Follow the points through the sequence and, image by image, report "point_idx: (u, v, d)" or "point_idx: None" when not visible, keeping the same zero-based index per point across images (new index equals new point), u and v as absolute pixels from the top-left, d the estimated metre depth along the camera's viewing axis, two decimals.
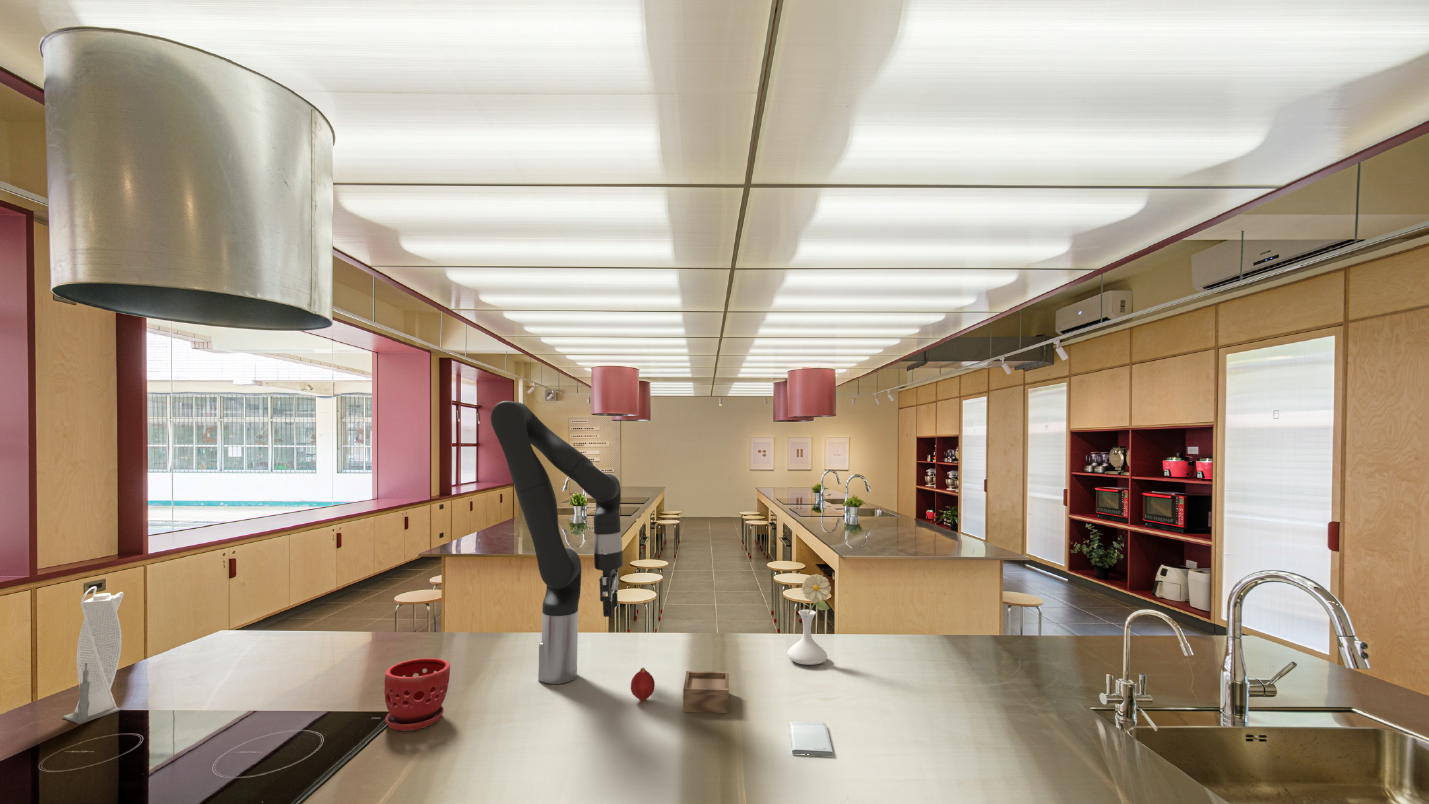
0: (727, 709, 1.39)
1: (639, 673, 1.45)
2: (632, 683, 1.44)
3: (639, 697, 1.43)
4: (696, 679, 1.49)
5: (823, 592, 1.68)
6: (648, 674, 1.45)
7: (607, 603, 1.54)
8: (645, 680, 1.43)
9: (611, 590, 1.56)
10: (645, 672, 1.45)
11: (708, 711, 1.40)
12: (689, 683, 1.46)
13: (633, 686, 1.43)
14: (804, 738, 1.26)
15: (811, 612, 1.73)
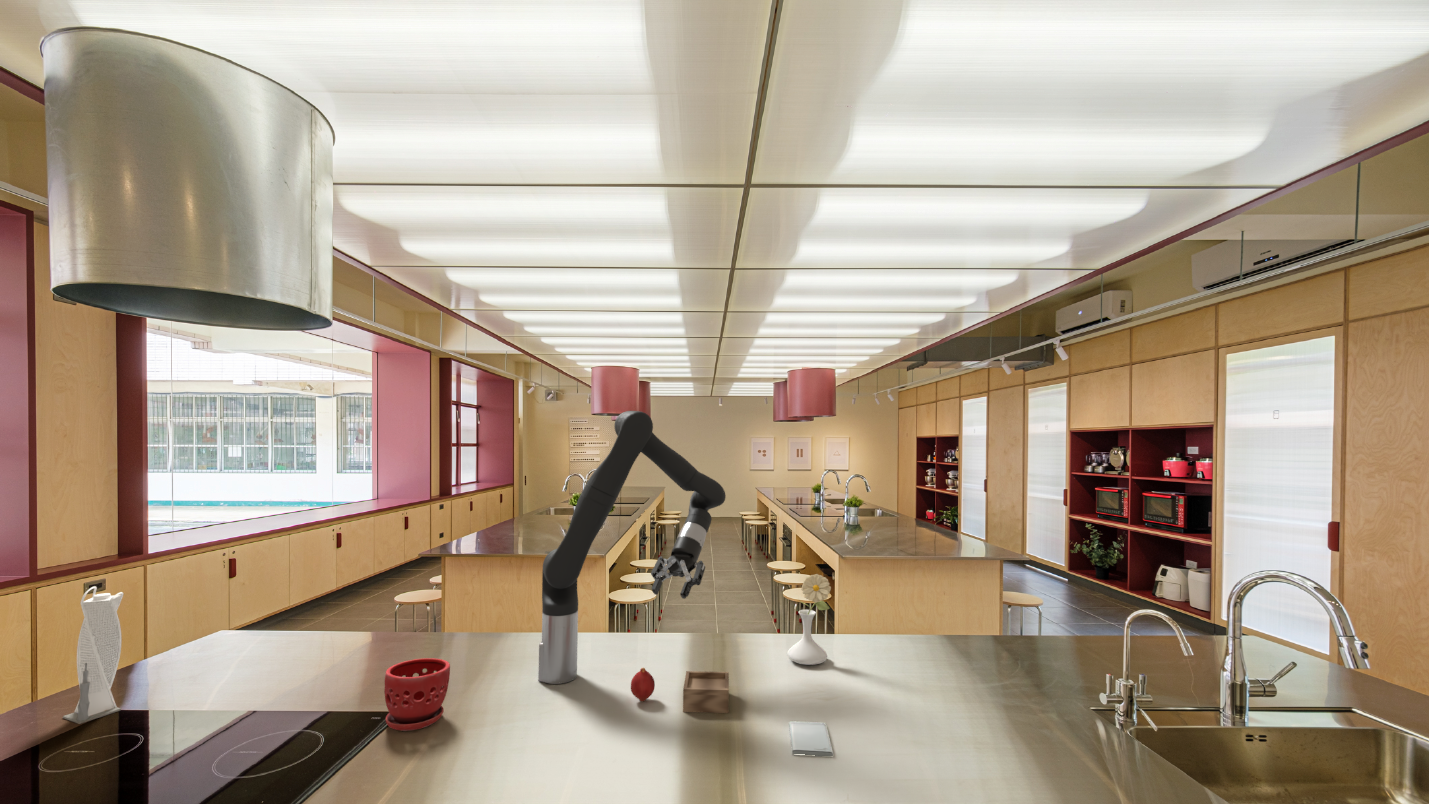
0: (727, 709, 1.39)
1: (639, 673, 1.45)
2: (632, 683, 1.44)
3: (639, 697, 1.43)
4: (696, 679, 1.49)
5: (823, 592, 1.68)
6: (648, 674, 1.45)
7: (690, 585, 1.57)
8: (645, 680, 1.43)
9: (691, 577, 1.60)
10: (645, 672, 1.45)
11: (708, 711, 1.40)
12: (689, 683, 1.46)
13: (633, 686, 1.43)
14: (804, 738, 1.26)
15: (811, 612, 1.73)
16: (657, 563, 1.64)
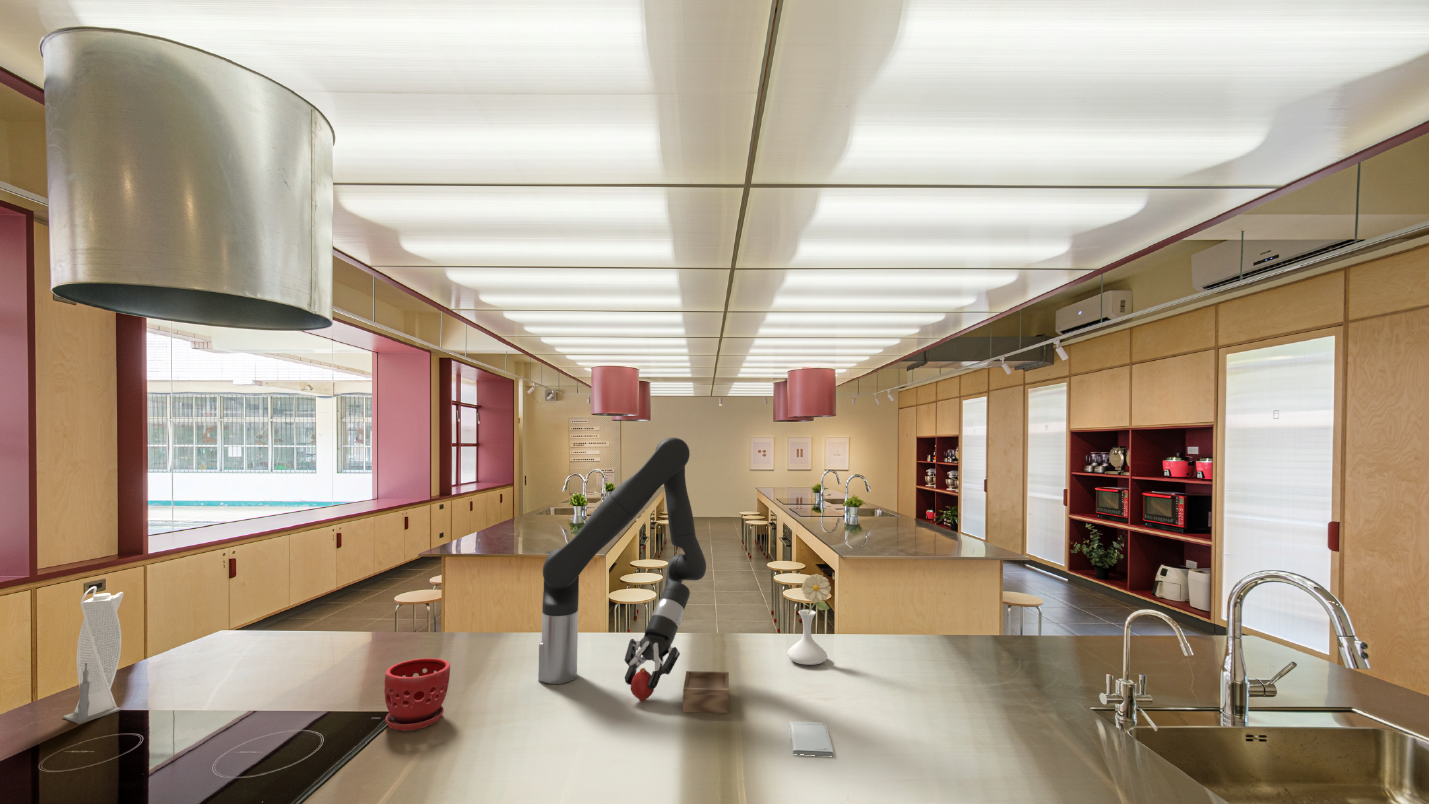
0: (727, 709, 1.39)
1: (639, 673, 1.45)
2: (632, 683, 1.44)
3: (639, 697, 1.43)
4: (696, 679, 1.49)
5: (823, 592, 1.68)
6: (648, 674, 1.45)
7: (659, 675, 1.44)
8: (645, 680, 1.43)
9: (662, 664, 1.47)
10: (645, 672, 1.45)
11: (708, 711, 1.40)
12: (689, 683, 1.46)
13: (633, 686, 1.43)
14: (804, 738, 1.26)
15: (811, 612, 1.73)
16: (629, 647, 1.51)
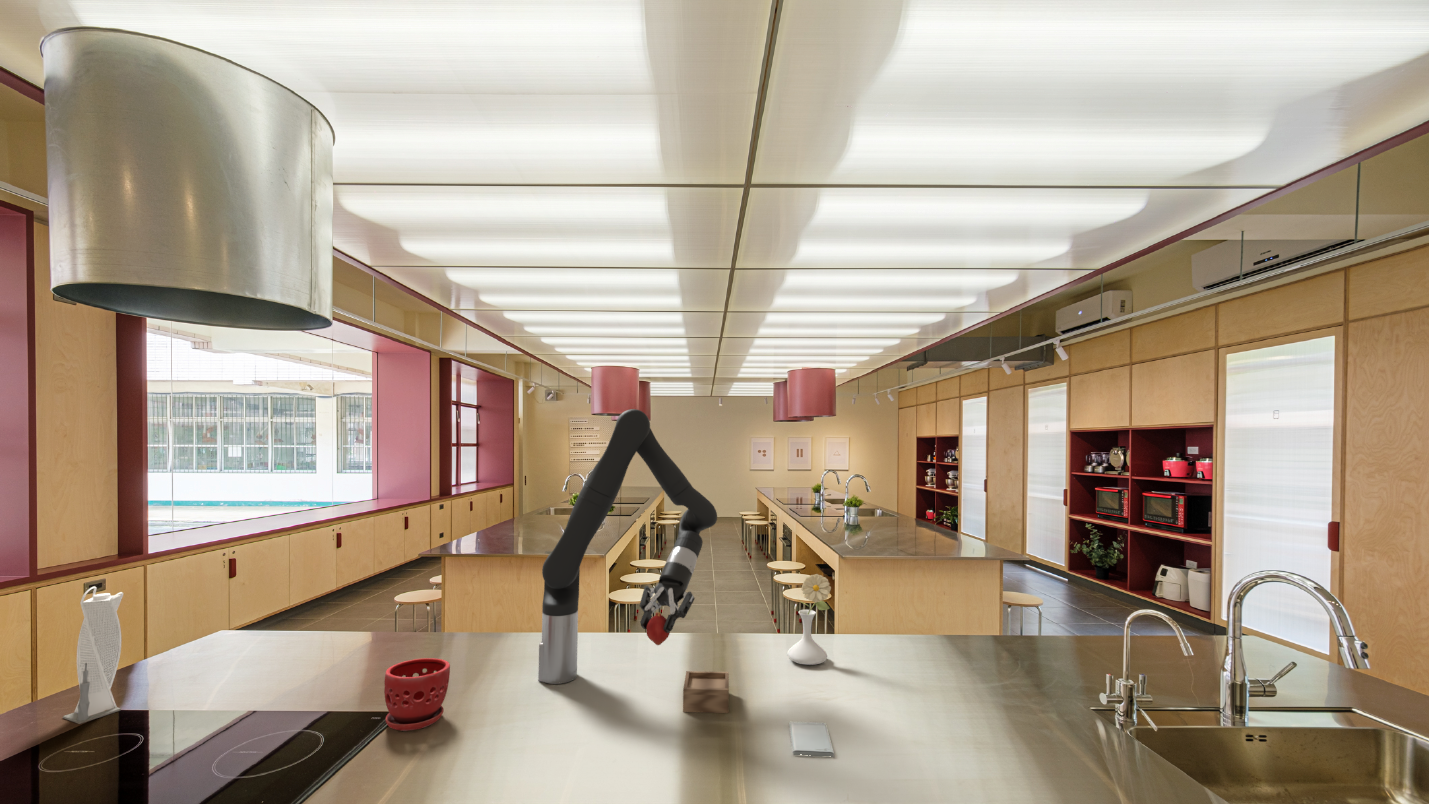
0: (727, 709, 1.39)
1: (654, 617, 1.46)
2: (648, 627, 1.45)
3: (655, 640, 1.44)
4: (696, 679, 1.49)
5: (823, 592, 1.68)
6: (663, 618, 1.46)
7: (675, 618, 1.45)
8: (661, 624, 1.44)
9: (677, 609, 1.48)
10: (660, 616, 1.46)
11: (708, 711, 1.40)
12: (689, 683, 1.46)
13: (649, 629, 1.44)
14: (804, 738, 1.26)
15: (811, 612, 1.73)
16: (644, 594, 1.52)
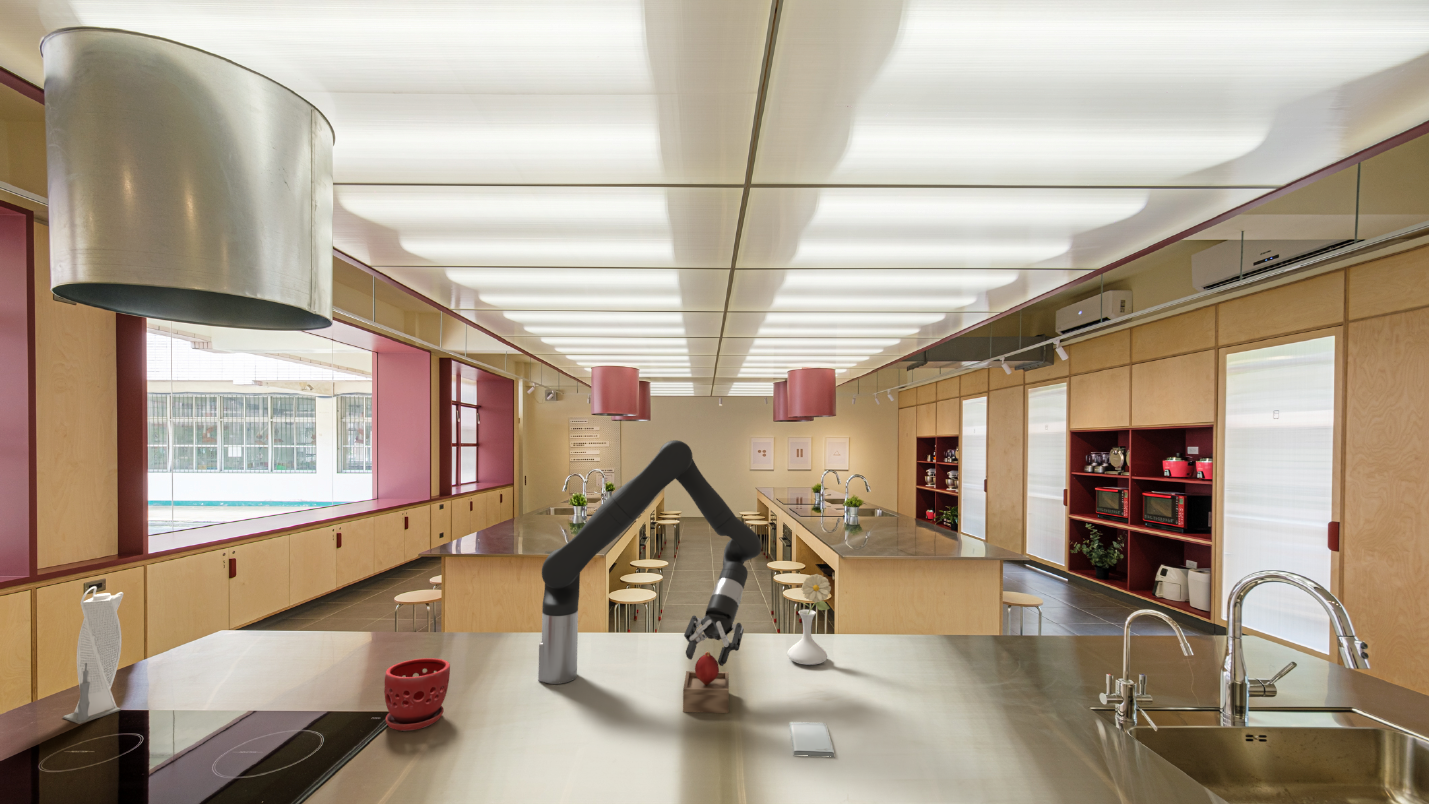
0: (727, 709, 1.39)
1: (704, 657, 1.45)
2: (697, 666, 1.44)
3: (704, 681, 1.43)
4: (696, 679, 1.49)
5: (823, 592, 1.68)
6: (713, 658, 1.45)
7: (728, 651, 1.44)
8: (710, 664, 1.43)
9: (728, 641, 1.47)
10: (710, 656, 1.45)
11: (708, 711, 1.40)
12: (689, 683, 1.46)
13: (698, 669, 1.43)
14: (805, 739, 1.26)
15: (811, 612, 1.73)
16: (690, 623, 1.52)
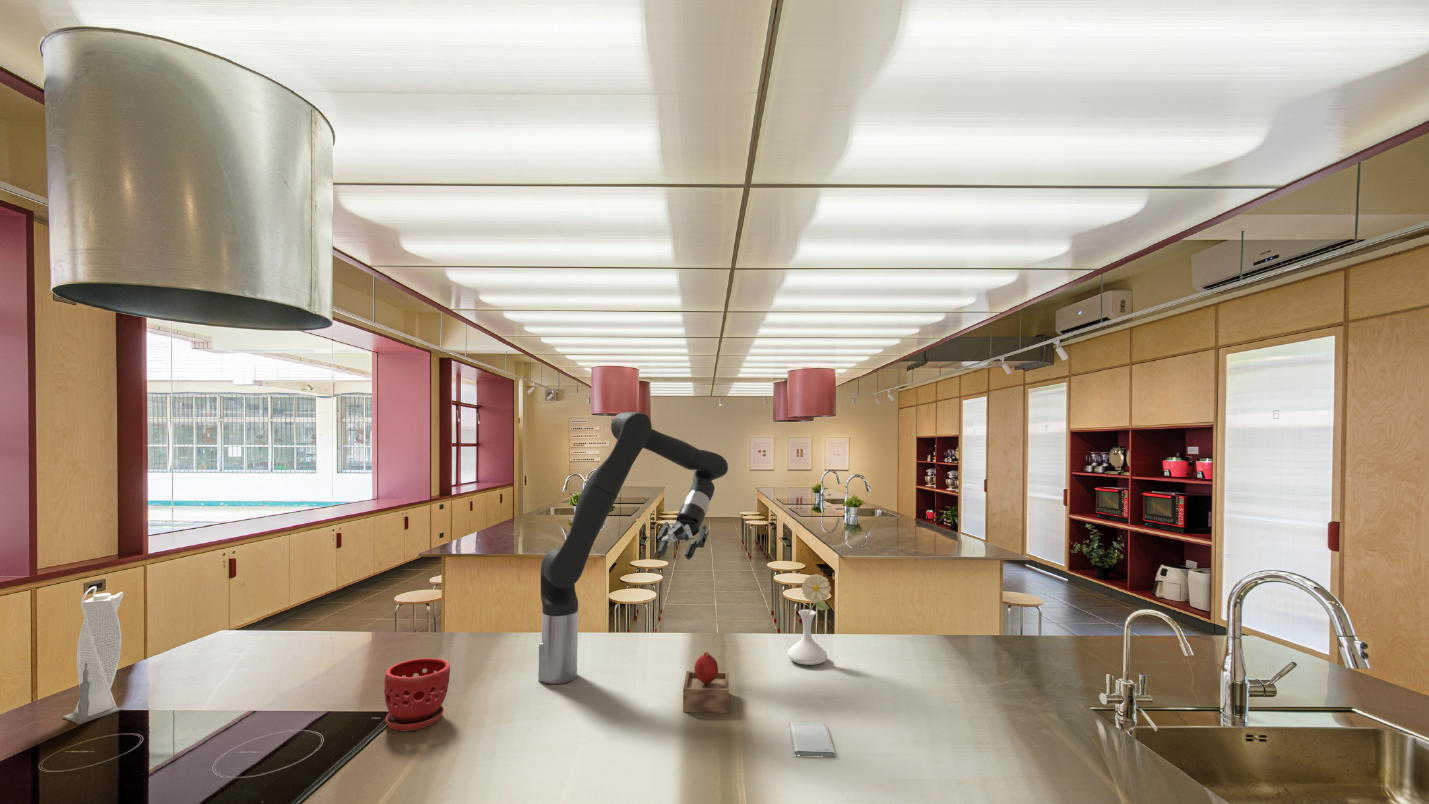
0: (727, 709, 1.39)
1: (703, 657, 1.45)
2: (696, 667, 1.44)
3: (704, 680, 1.43)
4: (696, 679, 1.49)
5: (823, 592, 1.68)
6: (712, 658, 1.45)
7: (695, 548, 1.66)
8: (709, 664, 1.43)
9: (695, 540, 1.70)
10: (709, 656, 1.45)
11: (708, 711, 1.40)
12: (689, 683, 1.46)
13: (697, 670, 1.43)
14: (805, 739, 1.26)
15: (811, 612, 1.73)
16: (663, 528, 1.74)
